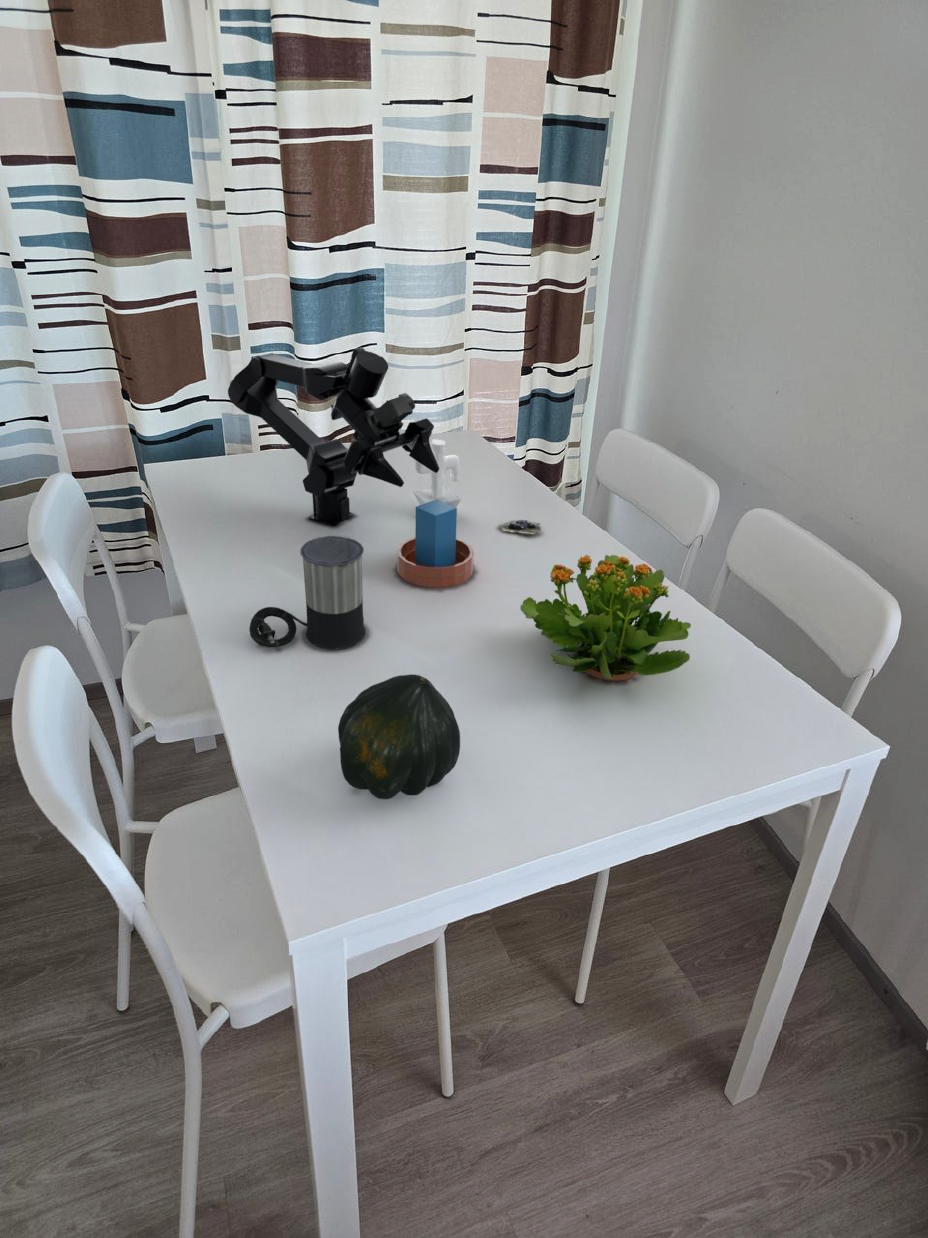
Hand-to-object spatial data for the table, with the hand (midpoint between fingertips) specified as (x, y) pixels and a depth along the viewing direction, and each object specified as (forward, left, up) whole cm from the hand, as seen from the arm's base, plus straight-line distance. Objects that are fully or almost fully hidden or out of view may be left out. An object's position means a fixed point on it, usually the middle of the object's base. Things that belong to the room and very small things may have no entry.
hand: (420, 477), depth 149 cm
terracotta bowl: (+5, -4, -15) cm, 17 cm away
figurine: (-8, +18, -15) cm, 25 cm away
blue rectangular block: (+5, -4, -15) cm, 16 cm away
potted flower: (+43, -15, -15) cm, 48 cm away
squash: (+29, -52, -15) cm, 62 cm away
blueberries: (+10, +20, -15) cm, 27 cm away
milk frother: (0, -33, -15) cm, 36 cm away
